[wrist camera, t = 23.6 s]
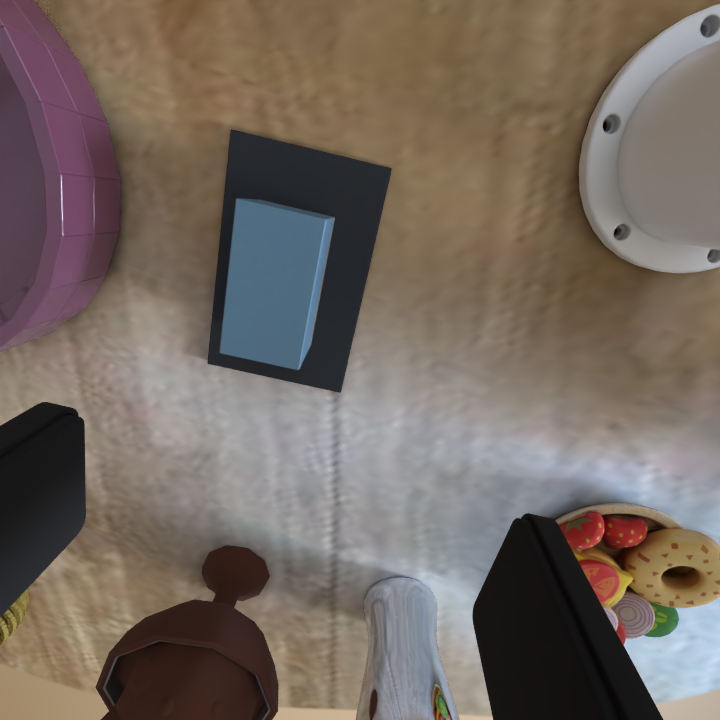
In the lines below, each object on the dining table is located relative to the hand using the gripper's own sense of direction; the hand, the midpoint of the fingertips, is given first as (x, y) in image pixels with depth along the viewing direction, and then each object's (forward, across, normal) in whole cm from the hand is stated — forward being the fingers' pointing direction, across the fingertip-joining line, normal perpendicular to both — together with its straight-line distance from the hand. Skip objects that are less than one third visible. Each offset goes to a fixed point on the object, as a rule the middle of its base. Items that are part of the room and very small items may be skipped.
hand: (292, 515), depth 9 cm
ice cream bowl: (+18, +4, +24) cm, 30 cm away
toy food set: (+19, -23, +15) cm, 34 cm away
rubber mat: (+18, +4, -1) cm, 19 cm away
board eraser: (+18, +4, -1) cm, 18 cm away
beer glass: (+18, -9, +24) cm, 31 cm away
